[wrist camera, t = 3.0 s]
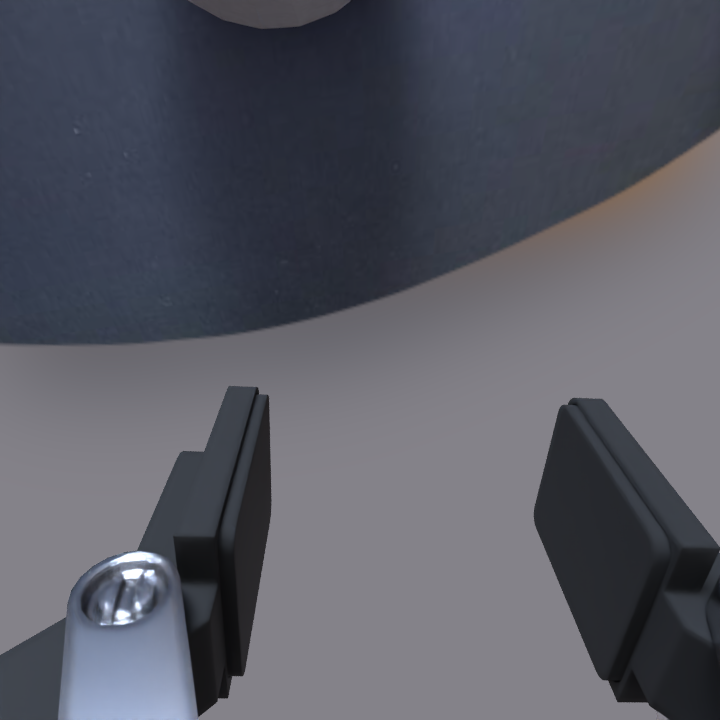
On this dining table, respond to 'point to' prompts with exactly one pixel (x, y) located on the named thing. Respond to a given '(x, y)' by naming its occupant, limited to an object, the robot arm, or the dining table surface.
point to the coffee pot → (271, 11)
